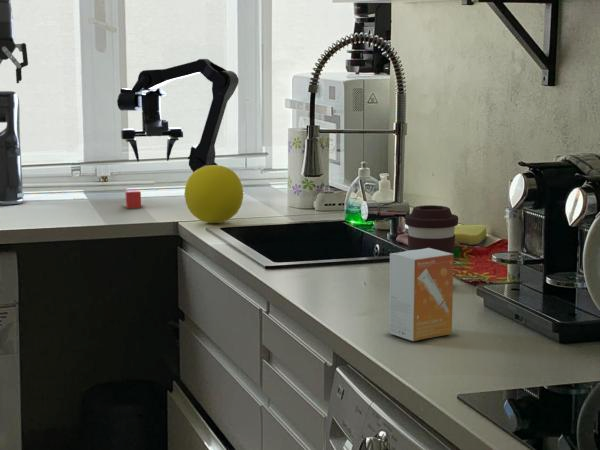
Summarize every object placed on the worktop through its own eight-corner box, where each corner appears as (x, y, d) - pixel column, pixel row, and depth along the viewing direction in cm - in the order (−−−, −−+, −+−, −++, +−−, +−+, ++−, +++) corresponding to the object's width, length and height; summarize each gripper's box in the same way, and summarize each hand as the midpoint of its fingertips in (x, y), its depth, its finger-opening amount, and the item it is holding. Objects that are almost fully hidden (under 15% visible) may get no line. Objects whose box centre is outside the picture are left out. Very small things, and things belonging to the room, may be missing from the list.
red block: (127, 208, 300) (126, 192, 299) (125, 206, 304) (125, 190, 303) (141, 207, 301) (140, 191, 300) (139, 205, 305) (139, 189, 304)
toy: (233, 216, 283) (232, 161, 280) (250, 224, 269) (249, 166, 266) (179, 219, 278) (177, 163, 275) (194, 228, 264) (192, 169, 261)
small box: (413, 342, 160) (414, 259, 158) (387, 333, 165) (388, 252, 163) (453, 334, 164) (454, 253, 162) (427, 325, 170) (428, 246, 168)
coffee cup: (400, 280, 202) (400, 204, 200) (450, 279, 203) (451, 203, 201) (409, 292, 193) (410, 212, 190) (462, 291, 193) (463, 211, 191)
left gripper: (-32, 20, 267) (-28, 84, 270) (25, 20, 270) (29, 83, 273) (-31, 21, 274) (-27, 83, 277) (25, 21, 278) (29, 82, 280)
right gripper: (122, 113, 313) (124, 164, 316) (184, 111, 318) (186, 162, 320) (119, 111, 324) (121, 161, 326) (179, 109, 328) (181, 159, 331)
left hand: (1, 83), depth 275 cm, fingers open, 8 cm apart
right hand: (152, 161), depth 326 cm, fingers open, 9 cm apart
